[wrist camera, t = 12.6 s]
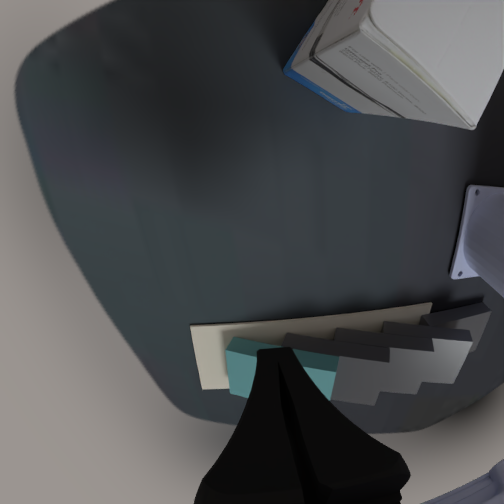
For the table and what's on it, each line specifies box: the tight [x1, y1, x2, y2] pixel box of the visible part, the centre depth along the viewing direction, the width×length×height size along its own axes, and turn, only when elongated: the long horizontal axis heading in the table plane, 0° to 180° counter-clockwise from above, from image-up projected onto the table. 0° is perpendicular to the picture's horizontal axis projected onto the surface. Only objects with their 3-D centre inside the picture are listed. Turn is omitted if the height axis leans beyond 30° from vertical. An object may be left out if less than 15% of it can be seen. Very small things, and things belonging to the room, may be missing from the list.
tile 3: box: [334, 327, 434, 394], centre depth 24 cm, size 2×5×8 cm
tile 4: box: [381, 321, 473, 384], centre depth 24 cm, size 2×5×8 cm
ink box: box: [283, 0, 504, 130], centre depth 10 cm, size 8×5×12 cm, turn 150°
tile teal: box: [225, 337, 339, 401], centre depth 23 cm, size 2×5×8 cm
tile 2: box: [281, 333, 390, 405], centre depth 23 cm, size 2×5×8 cm
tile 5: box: [419, 302, 491, 353], centre depth 25 cm, size 2×5×8 cm
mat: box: [190, 302, 432, 389], centre depth 26 cm, size 20×7×1 cm, turn 92°
